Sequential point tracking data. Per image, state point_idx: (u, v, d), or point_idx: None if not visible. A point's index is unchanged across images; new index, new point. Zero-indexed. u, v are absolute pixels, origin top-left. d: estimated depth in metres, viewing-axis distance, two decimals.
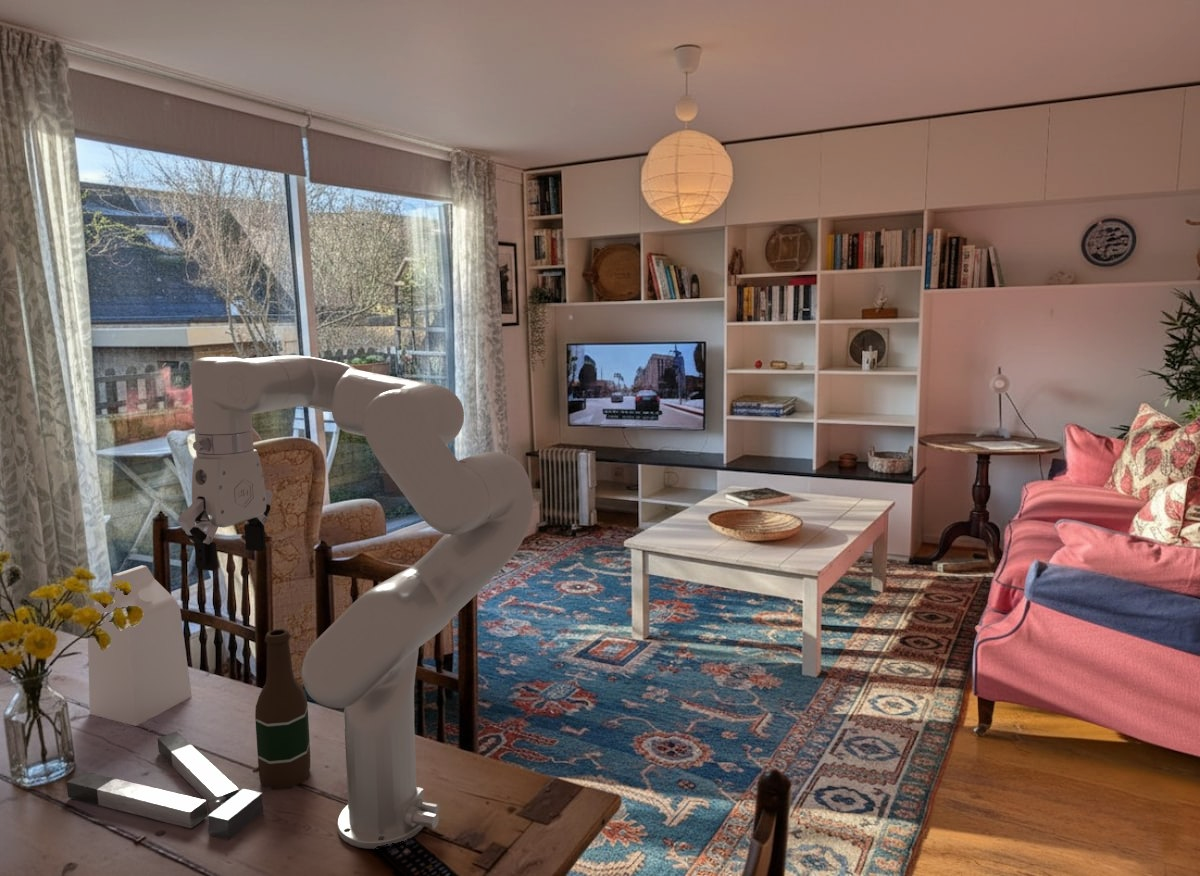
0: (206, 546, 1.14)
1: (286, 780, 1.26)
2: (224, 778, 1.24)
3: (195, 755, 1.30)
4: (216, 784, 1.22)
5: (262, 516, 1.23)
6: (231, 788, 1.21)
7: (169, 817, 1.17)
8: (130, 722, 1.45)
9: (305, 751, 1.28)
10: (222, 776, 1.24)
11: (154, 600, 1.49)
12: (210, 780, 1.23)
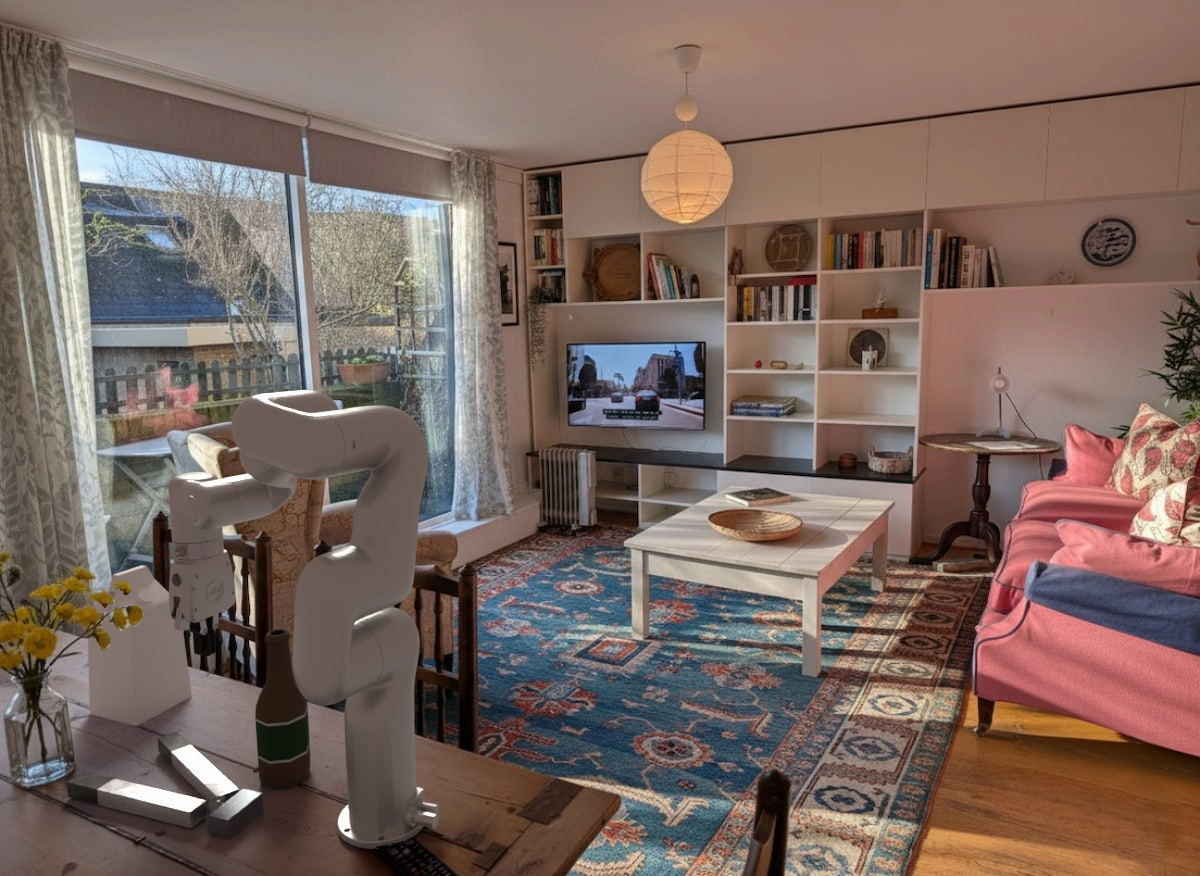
0: (202, 636, 1.36)
1: (286, 780, 1.26)
2: (224, 778, 1.24)
3: (195, 755, 1.30)
4: (216, 784, 1.22)
5: (216, 621, 1.38)
6: (231, 788, 1.21)
7: (169, 817, 1.17)
8: (130, 722, 1.45)
9: (305, 751, 1.28)
10: (222, 776, 1.24)
11: (154, 600, 1.49)
12: (210, 780, 1.23)
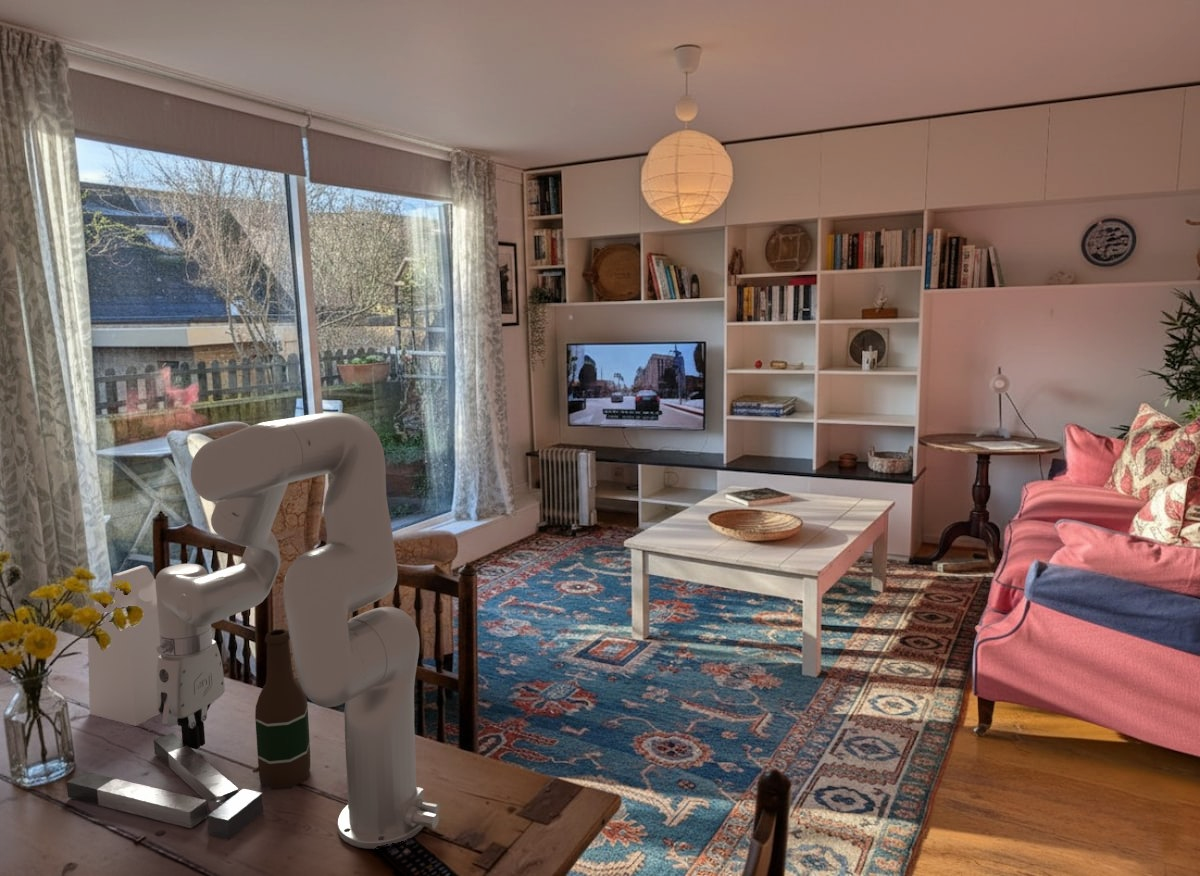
0: (191, 729, 1.34)
1: (286, 780, 1.26)
2: (223, 778, 1.24)
3: (192, 756, 1.30)
4: (215, 784, 1.22)
5: (205, 712, 1.36)
6: (230, 787, 1.21)
7: (169, 817, 1.17)
8: (130, 722, 1.45)
9: (305, 751, 1.28)
10: (221, 776, 1.24)
11: (154, 600, 1.49)
12: (209, 780, 1.23)
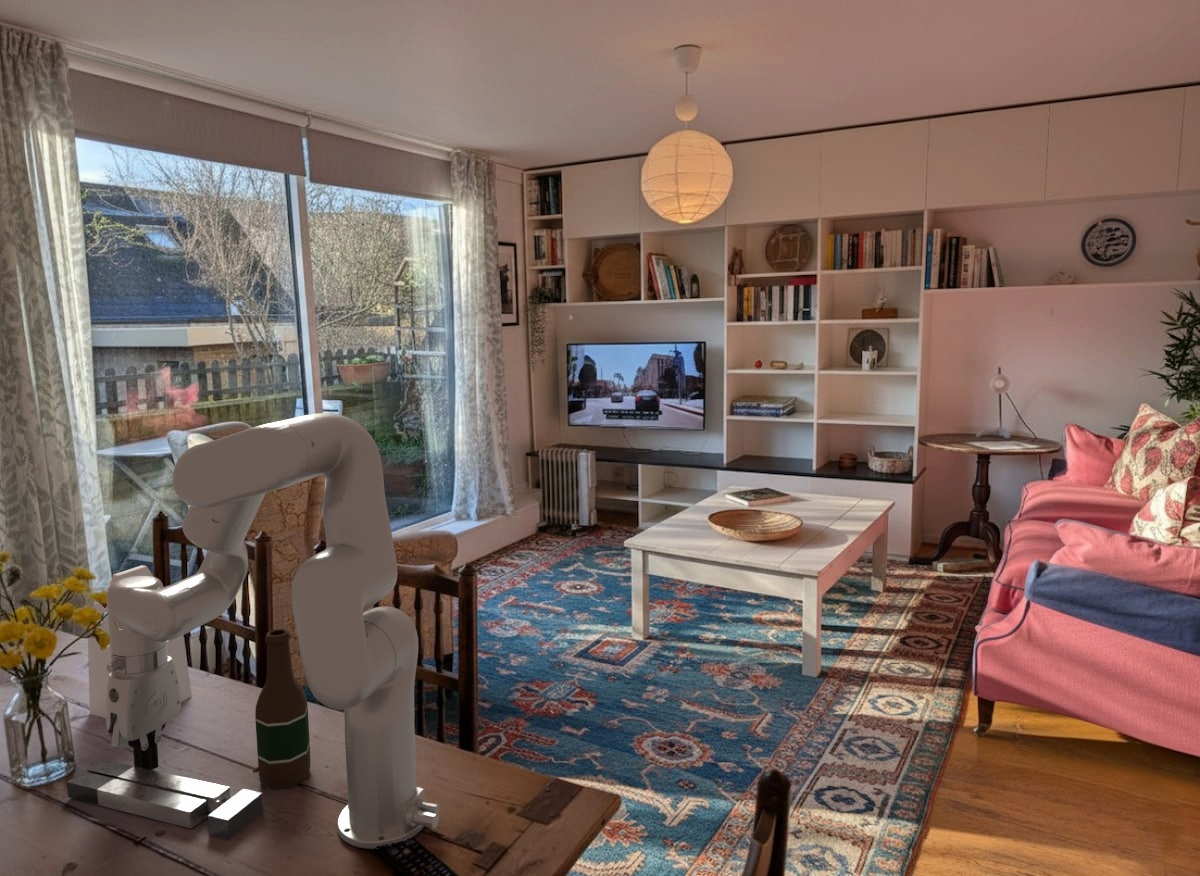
0: (143, 751, 1.26)
1: (286, 780, 1.26)
2: (205, 783, 1.23)
3: (150, 773, 1.25)
4: (201, 789, 1.21)
5: (159, 733, 1.28)
6: (221, 788, 1.21)
7: (169, 817, 1.17)
8: None
9: (305, 751, 1.28)
10: (201, 782, 1.23)
11: None
12: (191, 787, 1.21)
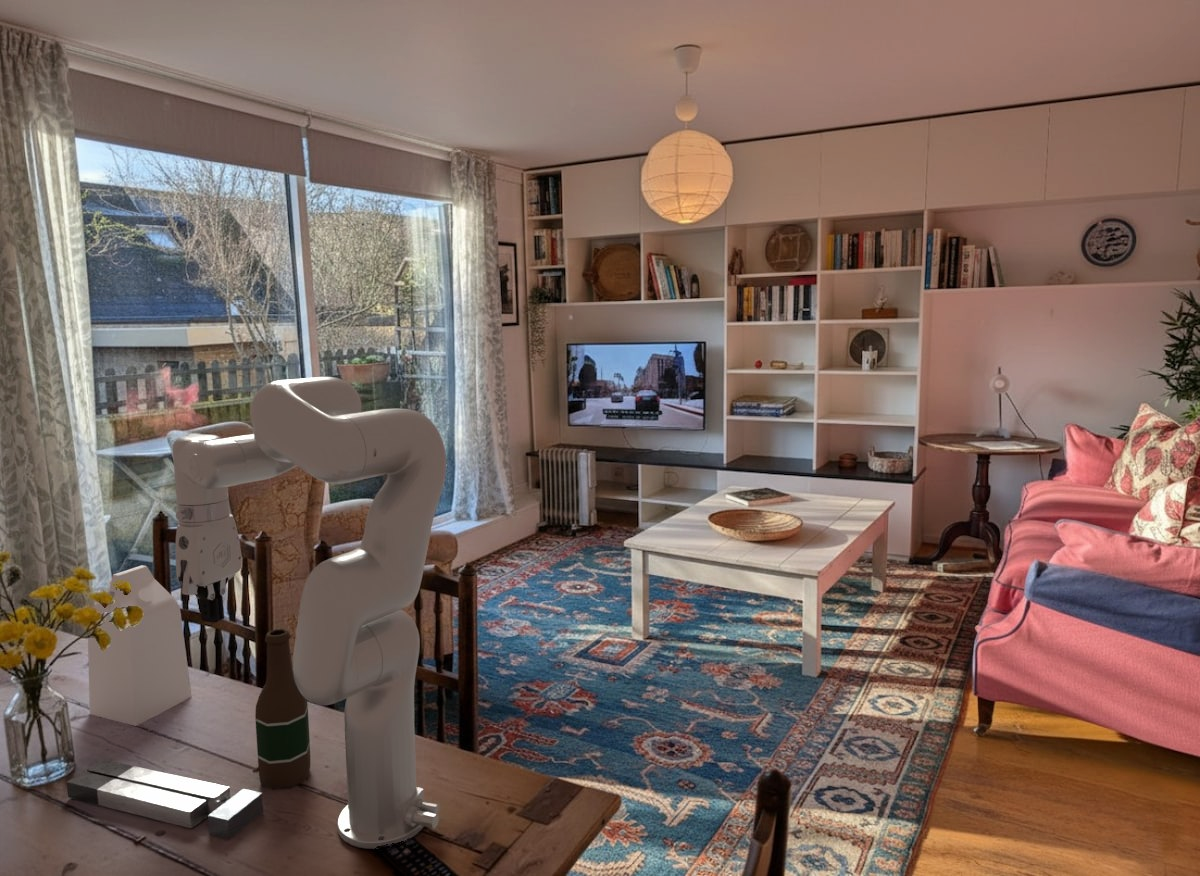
0: (210, 602, 1.33)
1: (286, 780, 1.26)
2: (205, 783, 1.23)
3: (150, 773, 1.25)
4: (201, 789, 1.21)
5: (223, 586, 1.35)
6: (221, 788, 1.21)
7: (169, 817, 1.17)
8: (130, 722, 1.45)
9: (305, 751, 1.28)
10: (201, 782, 1.23)
11: (154, 600, 1.49)
12: (191, 787, 1.21)
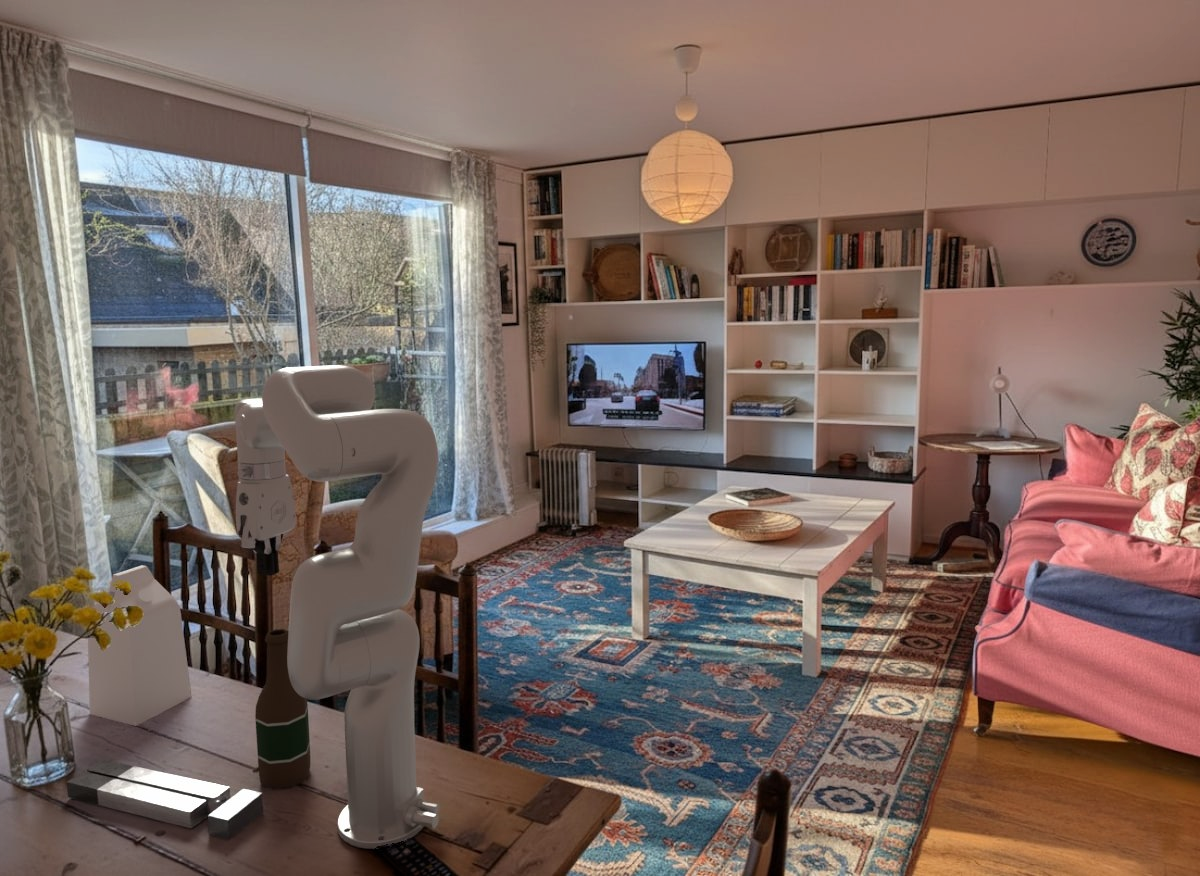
0: (266, 556, 1.42)
1: (286, 780, 1.26)
2: (205, 783, 1.23)
3: (150, 773, 1.25)
4: (201, 789, 1.21)
5: (278, 542, 1.44)
6: (221, 788, 1.21)
7: (169, 817, 1.17)
8: (130, 722, 1.45)
9: (305, 751, 1.28)
10: (201, 782, 1.23)
11: (154, 600, 1.49)
12: (191, 787, 1.21)
